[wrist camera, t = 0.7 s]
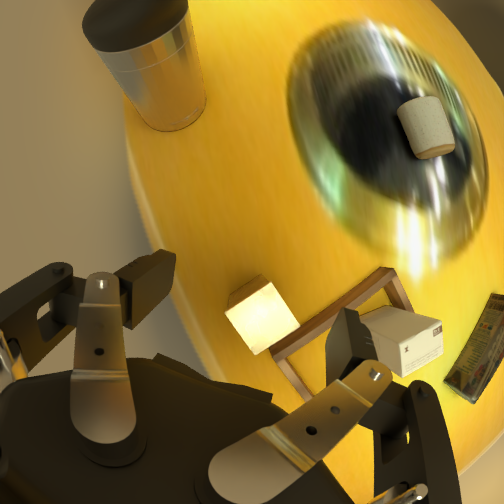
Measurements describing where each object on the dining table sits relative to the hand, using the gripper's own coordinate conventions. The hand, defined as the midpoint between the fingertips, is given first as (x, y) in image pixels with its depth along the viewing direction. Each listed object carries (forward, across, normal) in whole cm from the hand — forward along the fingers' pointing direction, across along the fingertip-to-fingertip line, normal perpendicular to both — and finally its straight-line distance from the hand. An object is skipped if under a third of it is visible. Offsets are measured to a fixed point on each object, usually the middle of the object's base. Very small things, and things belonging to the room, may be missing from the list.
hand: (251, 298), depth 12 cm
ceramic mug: (+32, -17, -17) cm, 40 cm away
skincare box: (+21, -15, +11) cm, 28 cm away
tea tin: (+18, +1, +10) cm, 21 cm away
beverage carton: (+25, -42, +12) cm, 50 cm away
